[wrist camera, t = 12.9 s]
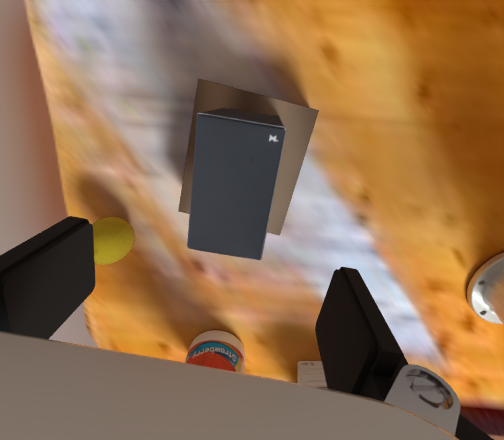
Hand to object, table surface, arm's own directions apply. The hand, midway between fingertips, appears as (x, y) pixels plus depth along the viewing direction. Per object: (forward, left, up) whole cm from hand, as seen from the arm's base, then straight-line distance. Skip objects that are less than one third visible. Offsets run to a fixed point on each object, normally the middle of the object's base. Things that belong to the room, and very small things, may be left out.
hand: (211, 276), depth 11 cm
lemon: (+15, +13, -27) cm, 33 cm away
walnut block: (0, 0, -27) cm, 27 cm away
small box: (0, 0, -21) cm, 21 cm away
